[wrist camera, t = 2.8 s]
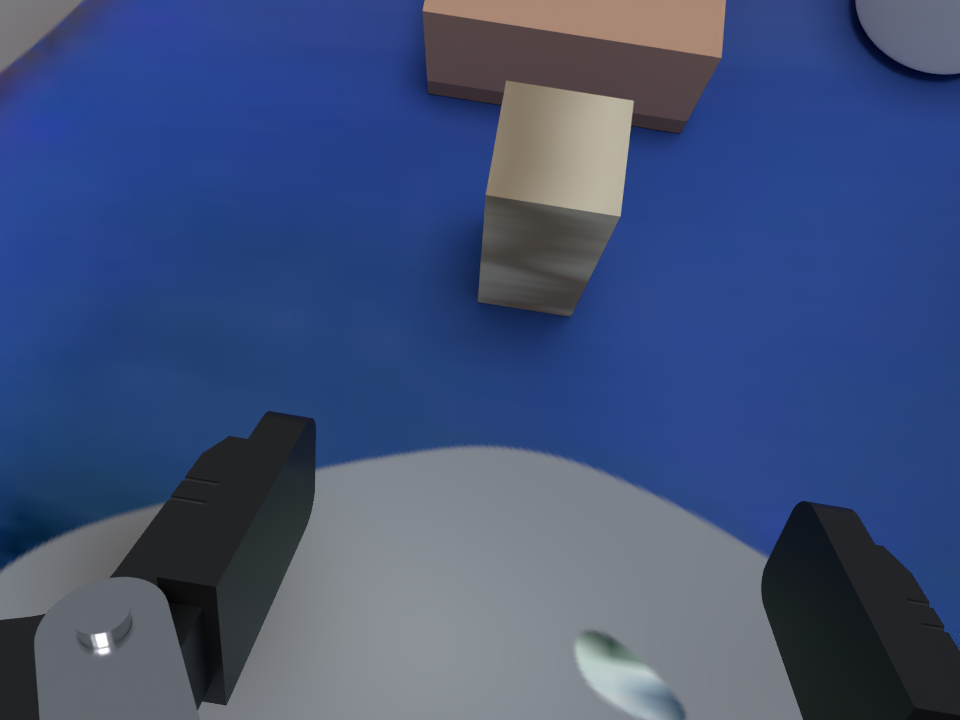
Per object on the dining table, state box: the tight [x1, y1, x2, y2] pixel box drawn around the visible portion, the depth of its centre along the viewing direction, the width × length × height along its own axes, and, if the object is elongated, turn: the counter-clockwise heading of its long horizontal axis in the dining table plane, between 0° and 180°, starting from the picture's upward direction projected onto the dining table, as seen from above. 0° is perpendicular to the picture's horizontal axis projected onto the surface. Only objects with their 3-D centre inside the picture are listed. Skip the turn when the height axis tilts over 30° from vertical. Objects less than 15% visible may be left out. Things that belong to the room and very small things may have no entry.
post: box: [478, 81, 634, 317], centre depth 27 cm, size 4×4×10 cm
